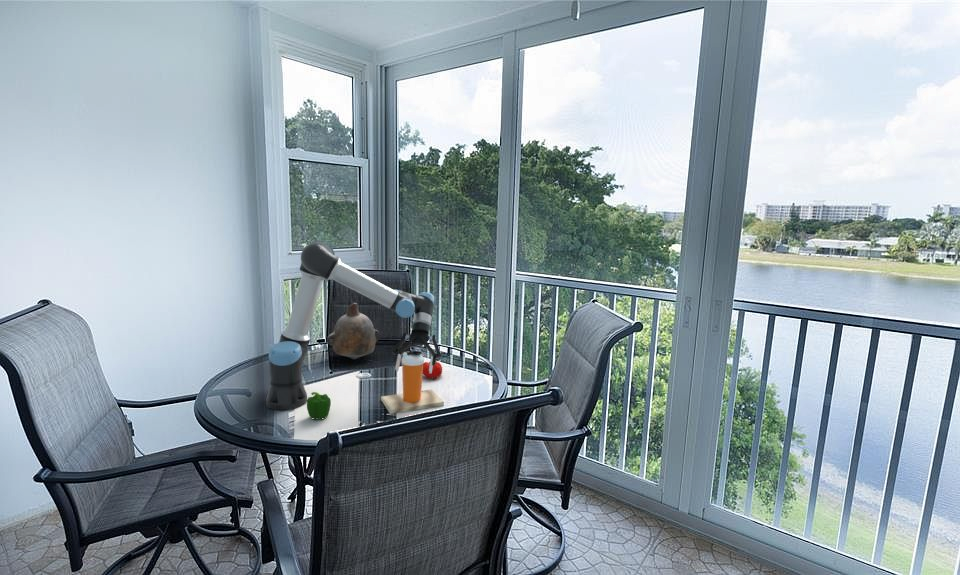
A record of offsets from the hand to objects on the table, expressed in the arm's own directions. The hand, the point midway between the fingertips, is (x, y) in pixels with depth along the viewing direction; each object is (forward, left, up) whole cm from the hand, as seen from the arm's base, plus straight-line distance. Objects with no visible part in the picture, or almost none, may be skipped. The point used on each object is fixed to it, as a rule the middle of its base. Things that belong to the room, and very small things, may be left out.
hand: (413, 371), depth 187 cm
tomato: (+18, +27, -14) cm, 35 cm away
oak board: (0, +1, -14) cm, 14 cm away
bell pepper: (-36, +1, -14) cm, 39 cm away
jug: (-11, +64, -14) cm, 66 cm away
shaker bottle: (0, +1, -12) cm, 12 cm away
